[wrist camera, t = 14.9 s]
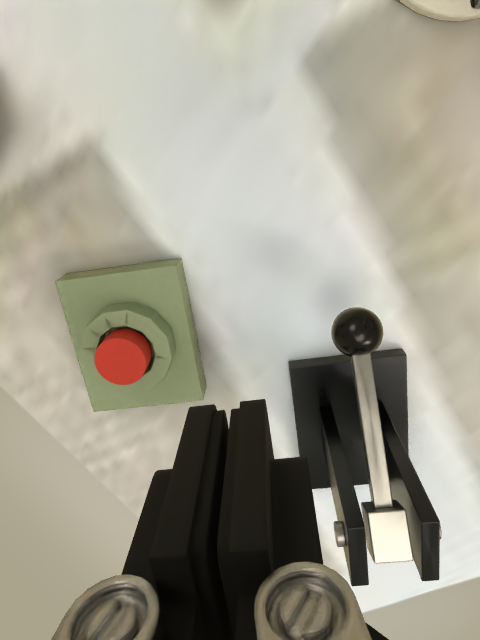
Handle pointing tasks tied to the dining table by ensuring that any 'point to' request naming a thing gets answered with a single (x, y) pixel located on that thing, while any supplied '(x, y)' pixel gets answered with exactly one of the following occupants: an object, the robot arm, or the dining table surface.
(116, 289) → the control block
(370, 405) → the lever
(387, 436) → the bracket
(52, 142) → the dining table surface
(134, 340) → the button
